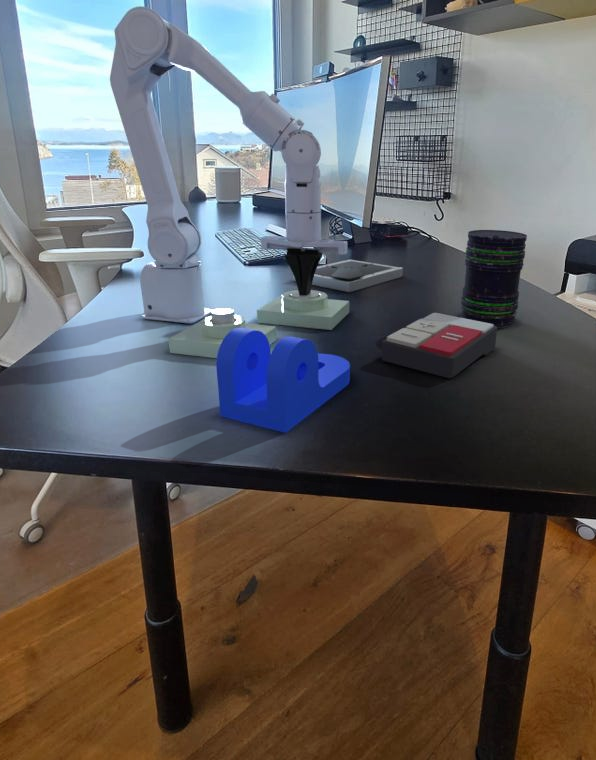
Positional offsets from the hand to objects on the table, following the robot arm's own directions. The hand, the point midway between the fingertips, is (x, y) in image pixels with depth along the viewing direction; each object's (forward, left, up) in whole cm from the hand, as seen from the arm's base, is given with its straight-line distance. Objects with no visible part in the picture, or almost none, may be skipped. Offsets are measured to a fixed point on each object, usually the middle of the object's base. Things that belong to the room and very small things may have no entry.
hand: (304, 294), depth 94 cm
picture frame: (-1, +33, -4) cm, 33 cm away
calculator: (+25, -12, -4) cm, 28 cm away
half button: (-6, -18, -1) cm, 19 cm away
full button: (0, 0, -2) cm, 2 cm away
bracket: (+10, -31, -4) cm, 33 cm away
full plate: (0, 0, -4) cm, 4 cm away
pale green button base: (-6, -18, -4) cm, 19 cm away
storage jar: (+31, +9, -4) cm, 33 cm away
